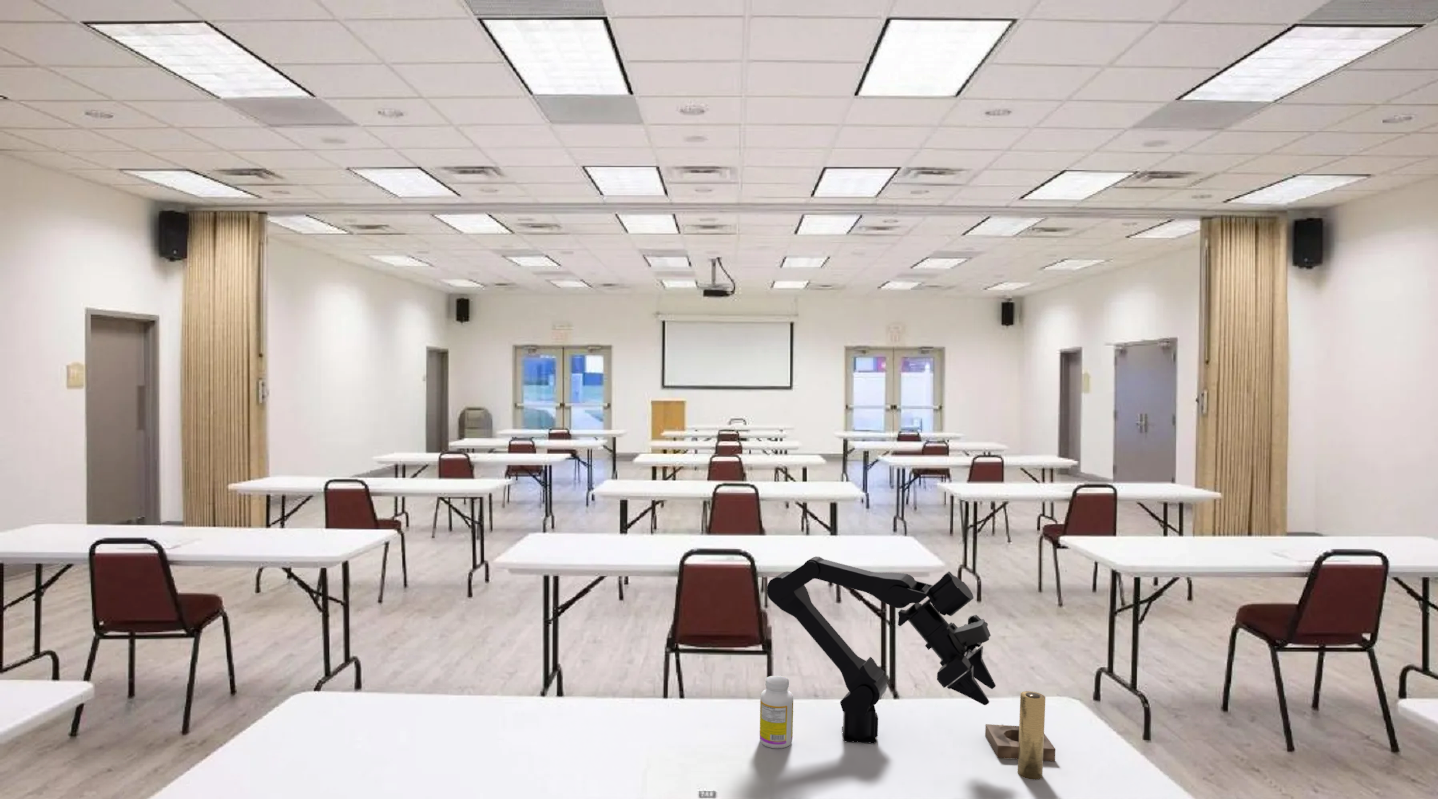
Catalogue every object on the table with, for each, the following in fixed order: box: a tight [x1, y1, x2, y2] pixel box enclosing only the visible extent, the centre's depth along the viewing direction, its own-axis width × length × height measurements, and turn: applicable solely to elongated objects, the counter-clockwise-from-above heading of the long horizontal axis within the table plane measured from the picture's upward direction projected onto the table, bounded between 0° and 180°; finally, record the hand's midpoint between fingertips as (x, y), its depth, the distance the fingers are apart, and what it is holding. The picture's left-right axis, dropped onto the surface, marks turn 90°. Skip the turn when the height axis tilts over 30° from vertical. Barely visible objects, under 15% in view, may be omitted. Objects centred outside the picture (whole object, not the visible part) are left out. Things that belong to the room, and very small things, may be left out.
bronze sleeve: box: [1017, 690, 1046, 781], centre depth 156 cm, size 4×4×15 cm
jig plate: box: [984, 723, 1056, 763], centre depth 167 cm, size 11×10×2 cm
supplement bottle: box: [759, 675, 794, 749], centre depth 167 cm, size 7×7×13 cm
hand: (990, 695), depth 159 cm, fingers open, 9 cm apart
